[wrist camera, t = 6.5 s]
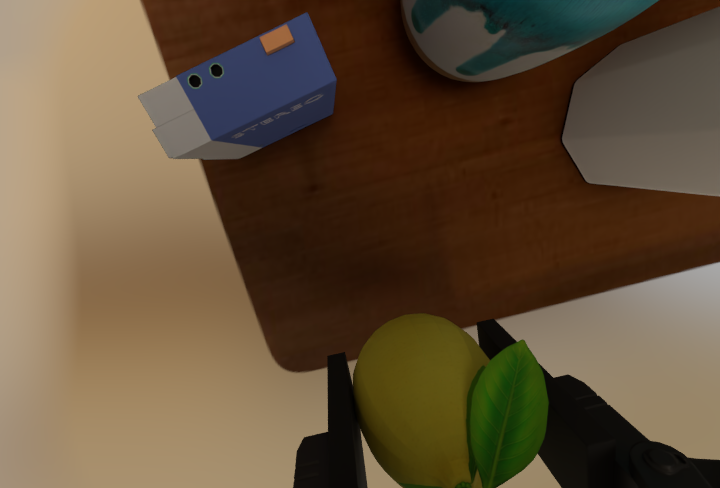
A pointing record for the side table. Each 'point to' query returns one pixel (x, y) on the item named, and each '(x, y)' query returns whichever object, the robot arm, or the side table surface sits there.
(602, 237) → the side table surface
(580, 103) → the cup
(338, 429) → the robot arm
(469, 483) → the lemon
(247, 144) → the walkman
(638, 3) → the vase
